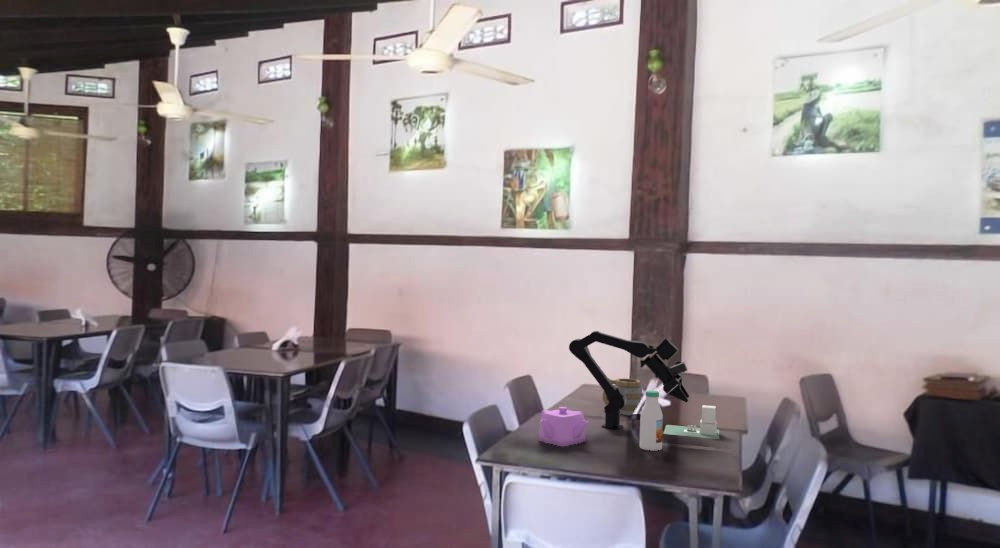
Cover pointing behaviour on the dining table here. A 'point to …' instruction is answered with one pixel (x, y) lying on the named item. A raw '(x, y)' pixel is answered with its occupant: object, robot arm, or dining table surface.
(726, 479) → the dining table surface
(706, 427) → the plug housing
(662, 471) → the dining table surface
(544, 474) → the dining table surface
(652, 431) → the milk bottle
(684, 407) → the dining table surface
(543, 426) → the pink lidded box
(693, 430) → the board
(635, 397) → the tankard
